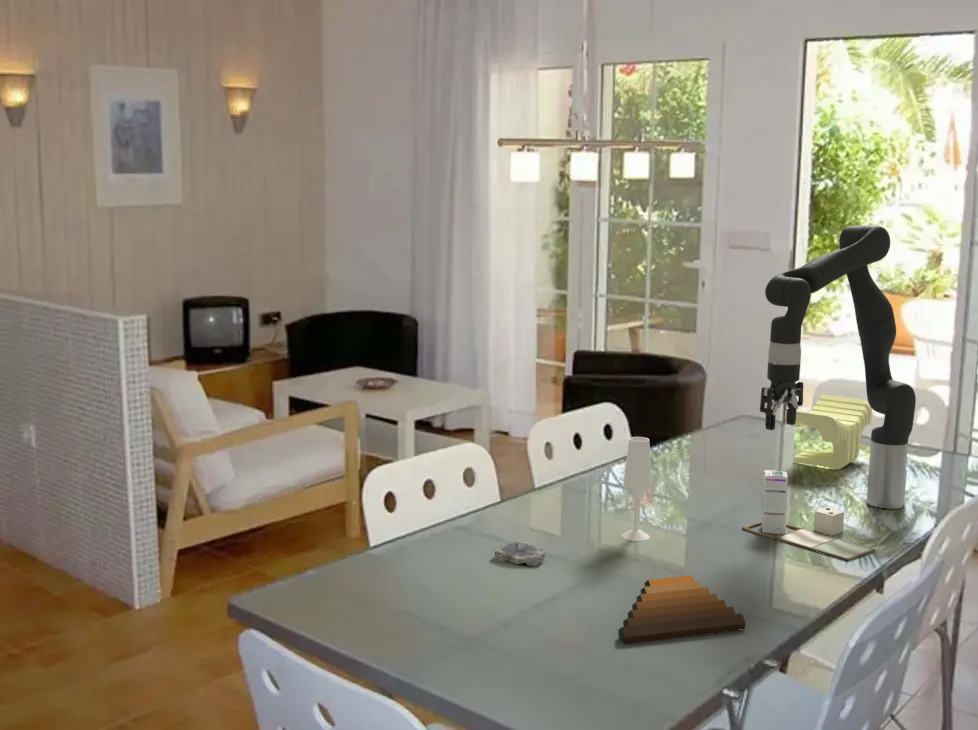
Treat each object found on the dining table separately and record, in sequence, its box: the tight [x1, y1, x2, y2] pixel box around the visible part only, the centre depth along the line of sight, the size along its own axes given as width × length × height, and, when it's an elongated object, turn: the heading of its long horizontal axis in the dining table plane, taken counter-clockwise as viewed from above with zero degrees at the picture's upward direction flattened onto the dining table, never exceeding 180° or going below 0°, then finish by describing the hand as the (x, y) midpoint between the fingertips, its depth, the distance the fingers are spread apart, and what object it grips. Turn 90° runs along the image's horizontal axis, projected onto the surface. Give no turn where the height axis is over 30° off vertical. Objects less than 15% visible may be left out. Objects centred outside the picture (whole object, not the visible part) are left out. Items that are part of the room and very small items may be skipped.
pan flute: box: [617, 574, 747, 645], centre depth 231 cm, size 25×3×25 cm
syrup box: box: [761, 469, 789, 535], centre depth 283 cm, size 6×6×14 cm
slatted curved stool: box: [784, 393, 873, 471], centre depth 346 cm, size 30×16×18 cm, turn 144°
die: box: [813, 506, 845, 537], centre depth 283 cm, size 5×5×5 cm
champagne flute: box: [621, 436, 653, 542], centre depth 276 cm, size 7×7×24 cm
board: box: [741, 520, 876, 562], centre depth 277 cm, size 11×29×1 cm, turn 41°
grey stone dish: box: [494, 541, 546, 567], centre depth 262 cm, size 11×4×10 cm
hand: (780, 426), depth 279 cm, fingers open, 8 cm apart
